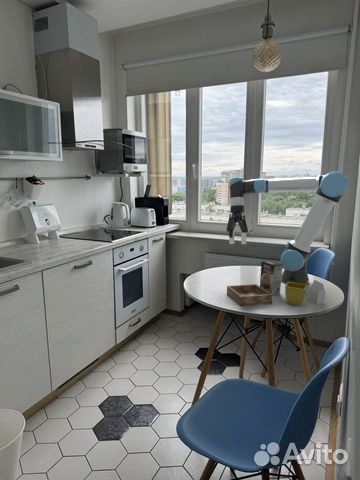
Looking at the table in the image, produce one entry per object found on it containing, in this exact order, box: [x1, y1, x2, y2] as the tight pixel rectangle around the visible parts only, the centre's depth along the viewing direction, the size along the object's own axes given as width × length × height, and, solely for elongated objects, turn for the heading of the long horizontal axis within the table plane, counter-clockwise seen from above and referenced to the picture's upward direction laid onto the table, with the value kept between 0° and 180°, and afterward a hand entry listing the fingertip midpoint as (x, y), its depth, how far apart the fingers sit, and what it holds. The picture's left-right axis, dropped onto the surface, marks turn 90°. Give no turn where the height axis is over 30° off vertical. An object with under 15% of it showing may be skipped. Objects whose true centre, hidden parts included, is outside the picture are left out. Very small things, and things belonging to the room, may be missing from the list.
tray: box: [226, 283, 273, 307], centre depth 159 cm, size 16×16×4 cm
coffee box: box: [259, 259, 284, 297], centre depth 167 cm, size 9×6×16 cm
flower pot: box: [284, 282, 308, 307], centre depth 154 cm, size 9×9×9 cm
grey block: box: [308, 279, 326, 305], centre depth 157 cm, size 4×7×10 cm, turn 10°
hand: (238, 244), depth 180 cm, fingers open, 13 cm apart
